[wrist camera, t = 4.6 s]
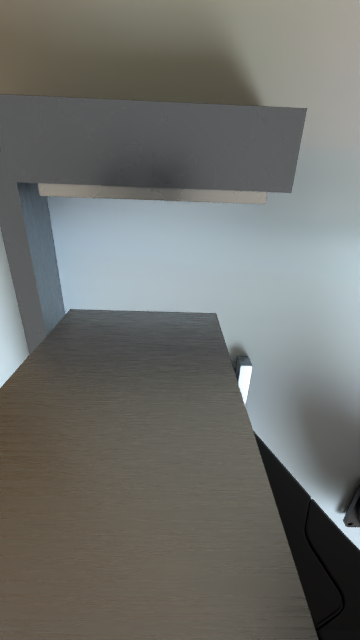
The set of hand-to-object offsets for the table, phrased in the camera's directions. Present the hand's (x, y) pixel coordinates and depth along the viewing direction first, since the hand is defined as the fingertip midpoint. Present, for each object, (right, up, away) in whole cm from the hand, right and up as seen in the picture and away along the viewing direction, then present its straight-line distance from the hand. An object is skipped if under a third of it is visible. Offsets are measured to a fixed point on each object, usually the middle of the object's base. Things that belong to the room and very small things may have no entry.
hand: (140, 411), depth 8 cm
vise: (-1, +3, +11) cm, 11 cm away
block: (0, +1, +1) cm, 2 cm away
